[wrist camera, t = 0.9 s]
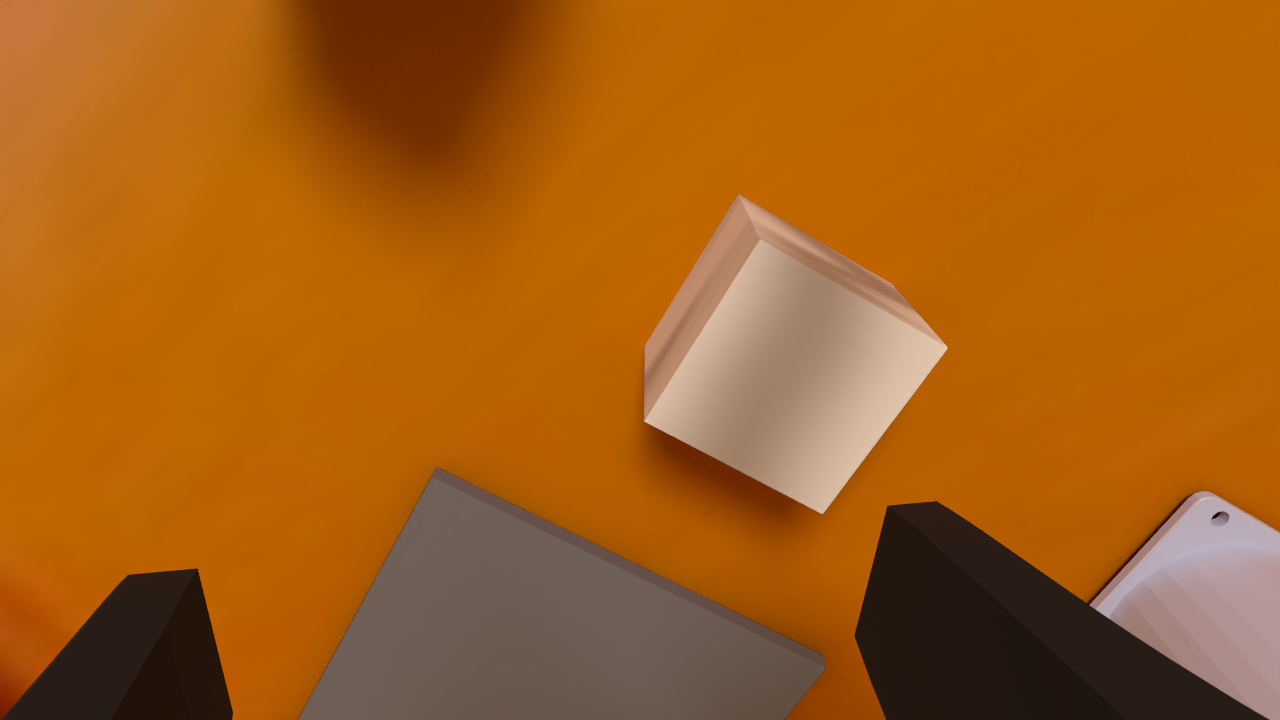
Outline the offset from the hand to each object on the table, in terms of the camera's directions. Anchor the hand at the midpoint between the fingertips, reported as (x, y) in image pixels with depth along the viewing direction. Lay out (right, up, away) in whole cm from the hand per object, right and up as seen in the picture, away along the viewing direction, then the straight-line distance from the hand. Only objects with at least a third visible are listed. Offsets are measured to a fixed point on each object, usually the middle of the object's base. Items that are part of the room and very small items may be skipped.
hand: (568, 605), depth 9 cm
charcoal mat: (-2, -9, +20) cm, 22 cm away
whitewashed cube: (+4, +4, +15) cm, 16 cm away
